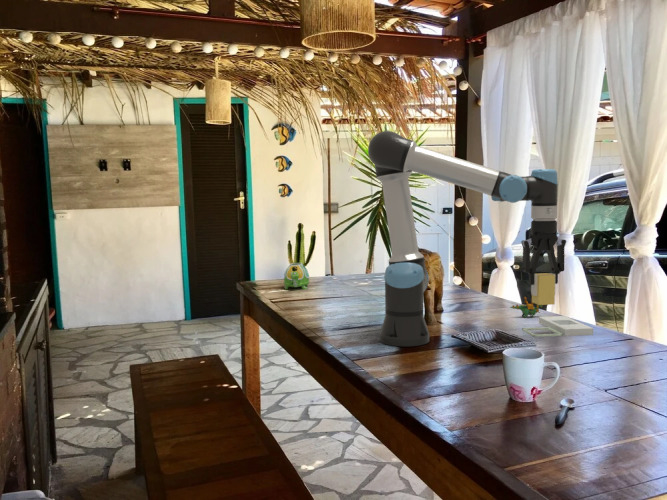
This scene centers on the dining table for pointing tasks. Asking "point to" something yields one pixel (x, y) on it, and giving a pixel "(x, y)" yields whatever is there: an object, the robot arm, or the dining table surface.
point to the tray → (542, 334)
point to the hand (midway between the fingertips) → (543, 294)
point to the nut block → (545, 289)
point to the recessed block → (566, 325)
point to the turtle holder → (296, 276)
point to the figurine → (528, 309)
